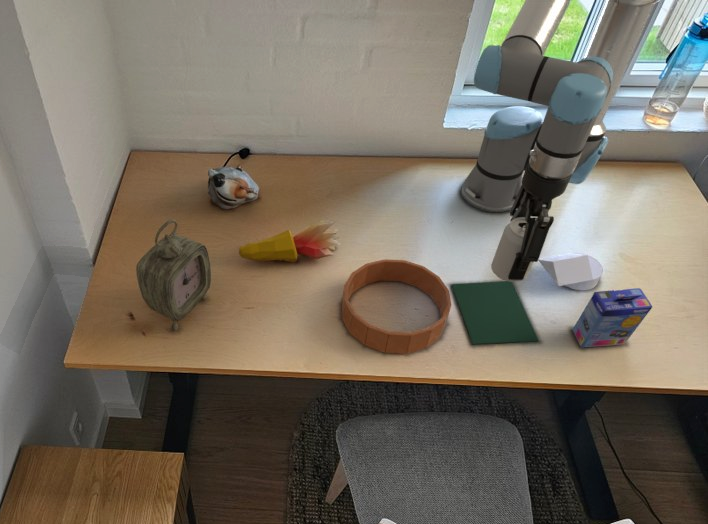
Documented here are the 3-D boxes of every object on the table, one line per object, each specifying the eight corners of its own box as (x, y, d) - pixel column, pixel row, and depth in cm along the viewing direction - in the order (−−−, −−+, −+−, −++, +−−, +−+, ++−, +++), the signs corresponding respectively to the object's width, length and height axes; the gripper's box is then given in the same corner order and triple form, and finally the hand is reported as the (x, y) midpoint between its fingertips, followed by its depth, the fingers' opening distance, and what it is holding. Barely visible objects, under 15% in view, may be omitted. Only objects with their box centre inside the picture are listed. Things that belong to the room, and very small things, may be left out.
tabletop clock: (176, 338, 131) (158, 252, 112) (144, 323, 134) (121, 237, 115) (214, 297, 139) (203, 210, 120) (183, 283, 142) (167, 196, 123)
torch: (243, 270, 150) (341, 247, 149) (244, 278, 142) (347, 255, 142) (236, 238, 147) (335, 215, 146) (237, 245, 139) (342, 221, 139)
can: (528, 263, 125) (548, 218, 116) (526, 288, 121) (546, 242, 112) (491, 256, 127) (507, 211, 118) (488, 280, 122) (504, 234, 113)
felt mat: (451, 285, 139) (451, 284, 139) (511, 282, 139) (511, 280, 139) (472, 345, 127) (472, 343, 127) (538, 341, 128) (538, 340, 127)
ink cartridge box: (581, 349, 126) (610, 302, 115) (570, 329, 129) (597, 281, 118) (627, 345, 126) (660, 298, 115) (614, 326, 130) (646, 277, 119)
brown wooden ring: (342, 276, 142) (344, 257, 137) (439, 280, 140) (444, 261, 136) (341, 350, 128) (344, 332, 123) (450, 356, 126) (456, 337, 121)
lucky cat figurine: (267, 189, 164) (270, 165, 151) (246, 225, 162) (247, 204, 149) (220, 164, 165) (218, 138, 152) (198, 200, 163) (195, 176, 149)
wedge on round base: (553, 296, 136) (605, 286, 137) (564, 275, 131) (617, 264, 132) (532, 270, 141) (583, 260, 143) (542, 248, 136) (594, 238, 138)
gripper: (517, 135, 112) (485, 231, 129) (539, 203, 99) (501, 299, 116) (559, 136, 111) (521, 232, 128) (587, 204, 98) (541, 301, 115)
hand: (511, 264), depth 122 cm, fingers closed on can, 7 cm apart
